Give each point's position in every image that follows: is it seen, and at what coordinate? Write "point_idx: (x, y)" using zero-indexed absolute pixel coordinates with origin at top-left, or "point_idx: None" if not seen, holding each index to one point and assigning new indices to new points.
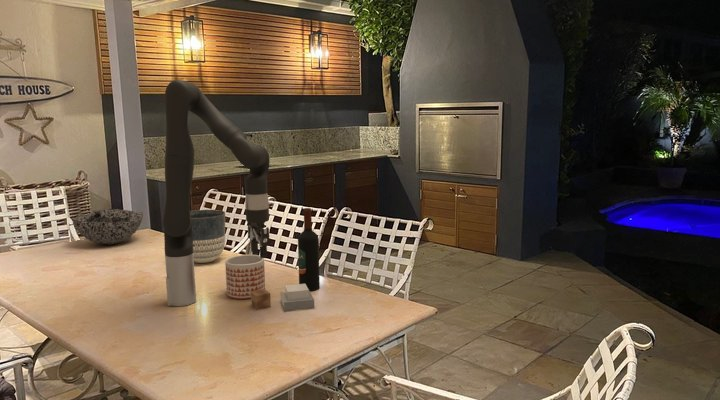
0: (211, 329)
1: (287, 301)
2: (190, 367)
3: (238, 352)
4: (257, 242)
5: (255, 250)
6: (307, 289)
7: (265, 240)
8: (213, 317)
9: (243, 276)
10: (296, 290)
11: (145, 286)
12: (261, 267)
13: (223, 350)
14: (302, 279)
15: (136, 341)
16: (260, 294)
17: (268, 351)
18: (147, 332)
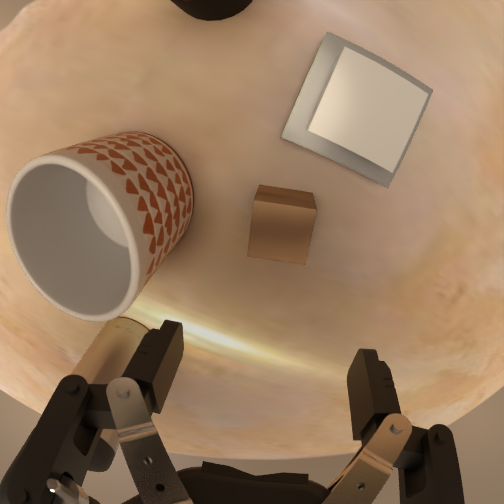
0: (338, 365)
1: (386, 172)
2: (428, 409)
3: (457, 359)
4: (157, 377)
5: (178, 342)
6: (420, 93)
7: (391, 463)
8: (273, 341)
9: (157, 266)
10: (401, 134)
11: (34, 335)
12: (131, 187)
13: (431, 373)
14: (218, 2)
15: (288, 433)
16: (303, 246)
17: (495, 323)
18: (264, 421)
